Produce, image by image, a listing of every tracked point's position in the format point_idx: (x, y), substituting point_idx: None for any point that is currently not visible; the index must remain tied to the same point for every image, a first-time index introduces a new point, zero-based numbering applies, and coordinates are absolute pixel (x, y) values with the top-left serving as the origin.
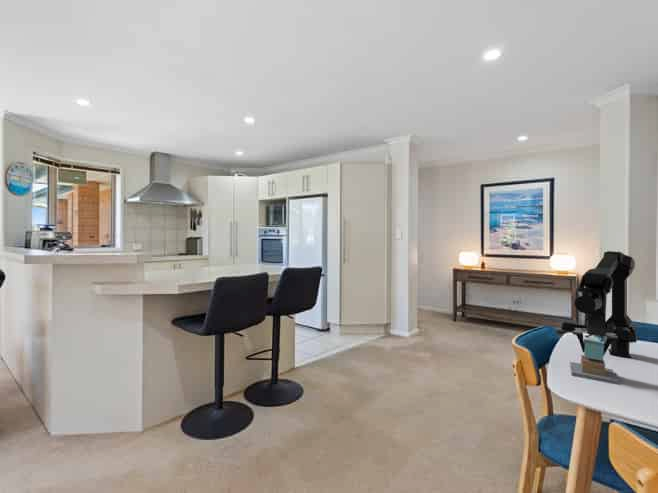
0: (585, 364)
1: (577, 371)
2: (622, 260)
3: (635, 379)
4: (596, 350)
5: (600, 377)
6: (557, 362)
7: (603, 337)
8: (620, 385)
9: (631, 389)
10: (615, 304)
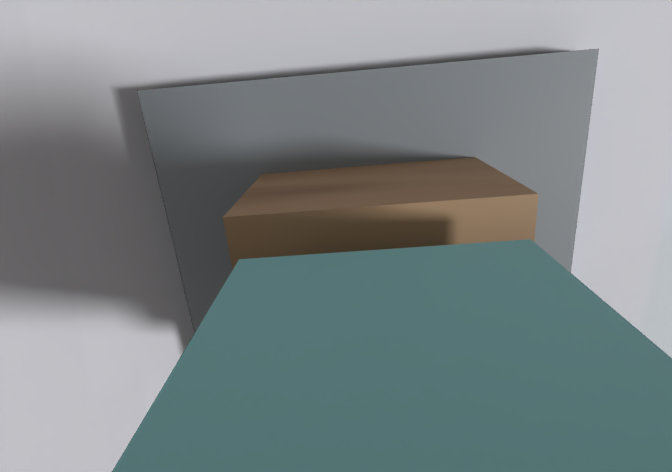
0: (474, 183)
1: (525, 131)
2: None
3: (54, 332)
4: (348, 361)
5: (297, 91)
6: None
7: None
8: (125, 71)
9: (25, 16)
10: None
